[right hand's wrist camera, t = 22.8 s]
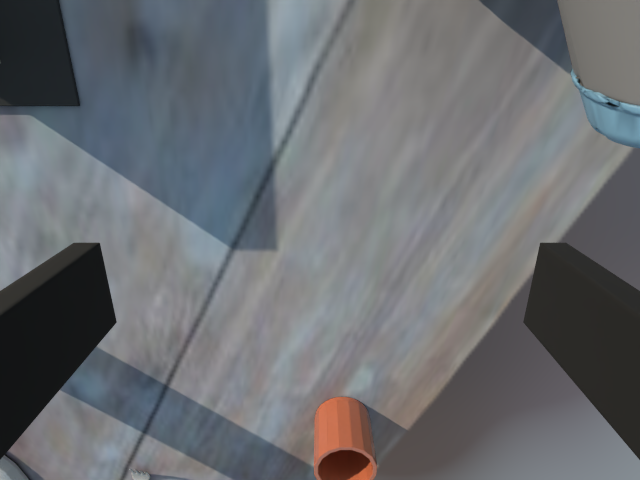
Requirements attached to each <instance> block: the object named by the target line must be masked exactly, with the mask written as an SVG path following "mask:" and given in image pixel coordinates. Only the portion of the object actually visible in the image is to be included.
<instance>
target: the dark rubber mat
mask: <svg viewBox="0 0 640 480" xmlns="http://www.w3.org/2000/svg"><path fill="white" fill-rule="evenodd" d="M0 62H1V63H0V106H80V103H79V98H78V93H77V88H76V83H75V79H74V74H73V69H72V64H71V59H70V54H69V49H68V44H67V39H66V34H65V30H64V25H63V20H62V15H61V10H60V5H59V0H0Z"/></svg>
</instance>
